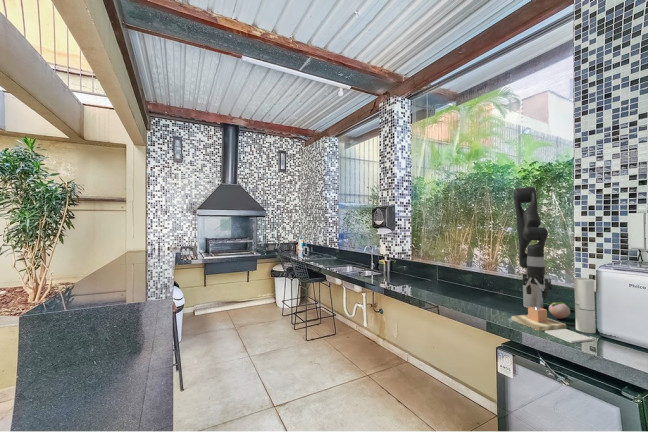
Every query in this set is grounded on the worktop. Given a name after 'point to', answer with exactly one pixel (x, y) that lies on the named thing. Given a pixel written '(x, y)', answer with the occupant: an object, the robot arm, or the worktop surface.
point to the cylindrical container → (584, 305)
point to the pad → (568, 335)
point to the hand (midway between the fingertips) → (536, 296)
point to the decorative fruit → (559, 310)
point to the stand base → (539, 323)
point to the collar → (537, 314)
